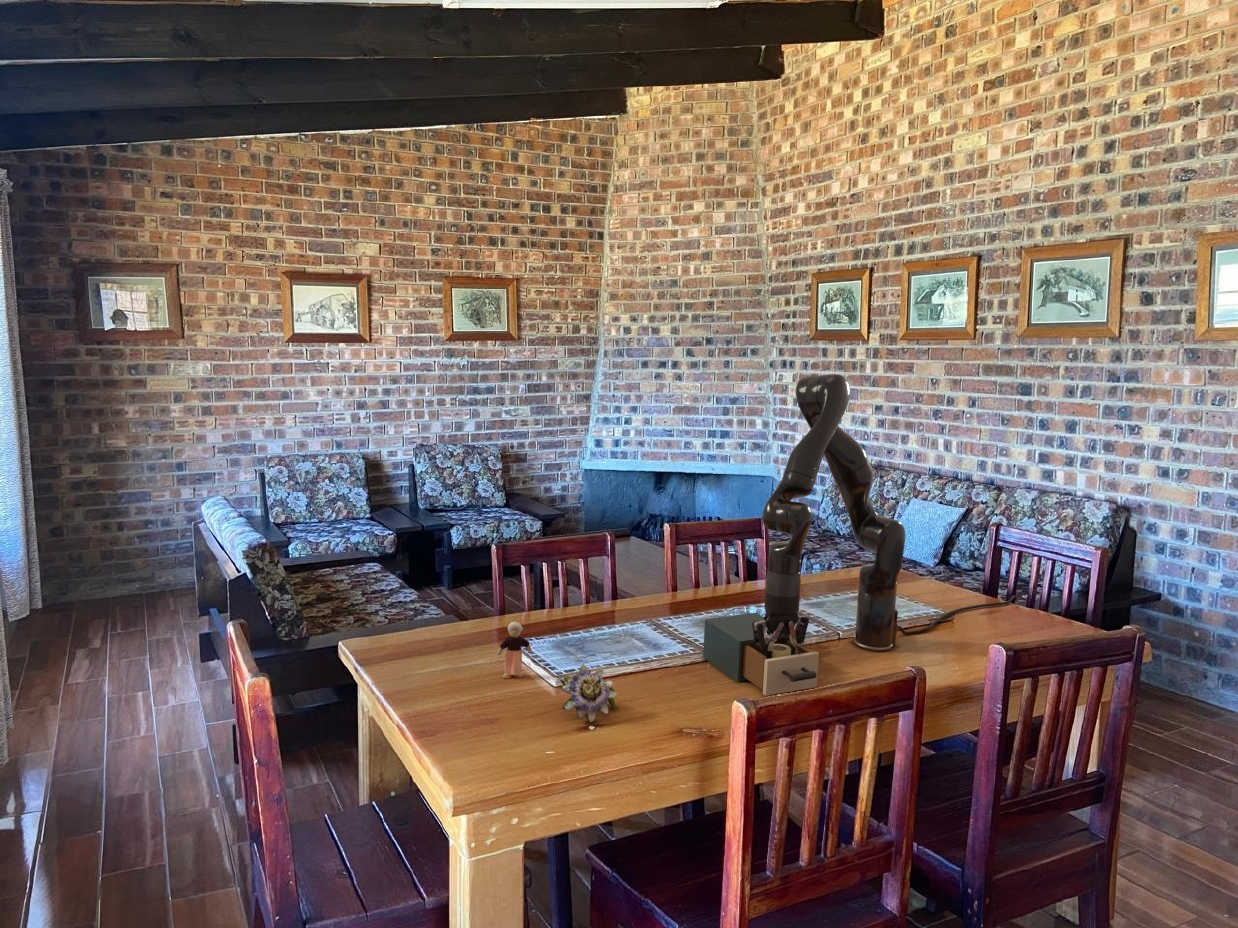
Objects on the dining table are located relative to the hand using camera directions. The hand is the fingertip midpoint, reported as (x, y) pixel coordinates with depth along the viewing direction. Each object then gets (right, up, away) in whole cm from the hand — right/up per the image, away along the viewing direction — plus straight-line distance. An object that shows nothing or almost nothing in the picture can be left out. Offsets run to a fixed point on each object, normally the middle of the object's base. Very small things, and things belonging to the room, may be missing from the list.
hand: (778, 662), depth 195 cm
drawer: (0, -4, 0) cm, 4 cm away
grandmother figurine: (-59, -3, +2) cm, 59 cm away
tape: (0, 0, 0) cm, 0 cm away
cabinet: (-5, -3, +12) cm, 14 cm away
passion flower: (-42, -7, -16) cm, 45 cm away
